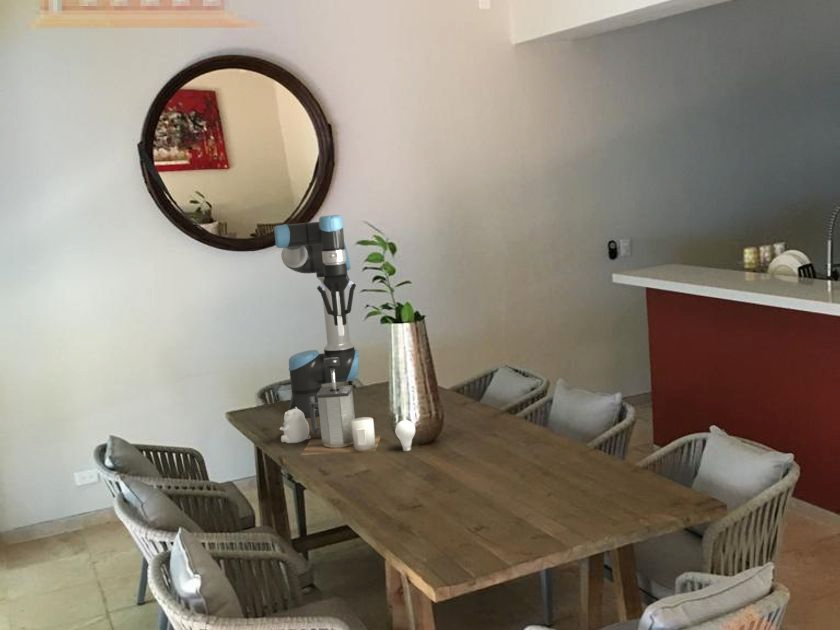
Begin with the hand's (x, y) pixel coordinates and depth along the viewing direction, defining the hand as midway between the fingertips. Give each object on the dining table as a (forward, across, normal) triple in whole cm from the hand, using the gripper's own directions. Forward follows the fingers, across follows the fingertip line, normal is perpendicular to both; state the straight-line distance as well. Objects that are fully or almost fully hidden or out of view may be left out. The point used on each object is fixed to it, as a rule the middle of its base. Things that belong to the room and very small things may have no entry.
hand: (341, 335), depth 285 cm
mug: (+35, +5, -10) cm, 37 cm away
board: (+37, -2, -6) cm, 37 cm away
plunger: (+25, -3, -4) cm, 25 cm away
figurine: (+37, -19, +4) cm, 42 cm away
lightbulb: (+37, +19, -16) cm, 45 cm away
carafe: (+35, -5, -4) cm, 36 cm away
